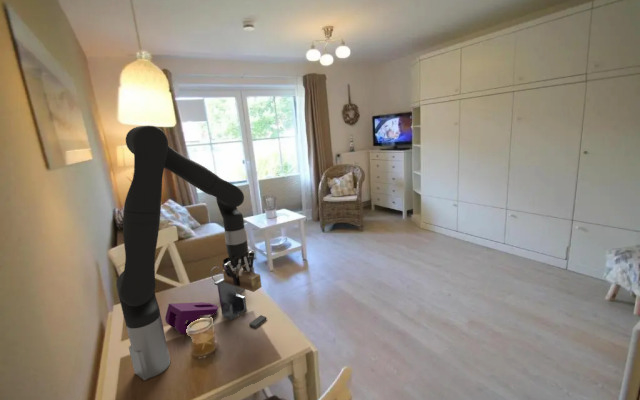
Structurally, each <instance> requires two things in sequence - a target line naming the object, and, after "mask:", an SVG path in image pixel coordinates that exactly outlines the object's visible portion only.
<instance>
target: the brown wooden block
mask: <svg viewBox="0 0 640 400" xmlns="http://www.w3.org/2000/svg"><path fill="white" fill-rule="evenodd" d="M222 273H223V274H222V275H223V278H224V282H225V283H228V284H231V285H234V282H233V278H231V277H228V276H227V274H226V272H225V270H224V269H223V270H222ZM238 277H239V281H240V286H237V287H240V288H243V289H245V290H246V291H249V292H251V293H252V292H253V293H255V292H256V291H258V290H259V289H261V288H262V280H261V274H260V273H256V272H251V271H250V270H249V271H246V270H243V268H242V269H240V271H239V276H238ZM234 286H236V285H234Z"/></svg>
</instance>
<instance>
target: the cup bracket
mask: <svg viewBox="0 0 640 400" xmlns="http://www.w3.org/2000/svg"><path fill="white" fill-rule="evenodd" d="M215 281H216V280H215ZM215 281H214V285H216V286H217V290H218V291H217V292H218V297H219V303H220V305H219V306H220V310H221V315H222V317H223V318H225V319H227V320H230V321H233V320H234V319H236V318H237V317H238V315H239V316H240V315H242V314H243V313H244V311H245V312H246V311H247V310H248V309H247V308H248V307H247V303H246V302H247V301H246V296H245V295H241V294H240V293H238V294H236V293H235V286H234V285H231V284H228V283H225V282H224V277H222V278H221V279H218V280H217V281H216V282H215Z"/></svg>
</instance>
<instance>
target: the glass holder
mask: <svg viewBox="0 0 640 400" xmlns="http://www.w3.org/2000/svg"><path fill="white" fill-rule="evenodd" d="M228 259H229V256H228V257H226V258H224V259H223V260H222V261H223V262H222V263H223V264H226V263H227V262H228ZM223 264H222V265H223ZM216 268H218V269H219V273H220V274H221V275H223V271H222V269H221V268H220V267H219V266H214V267H212V268H211V270H210V276H211V279H212V280H213V281H214V283H215V282H216V280H215V278H214V277H213V270H214V269H216ZM235 268H237V267H235ZM240 269H242V270H243V268H242V266H241V267H240ZM245 290H246V289H243V288H240V287H237V286H235V293H236V294H241V293H243V292H244V291H245ZM242 291H243V292H242Z"/></svg>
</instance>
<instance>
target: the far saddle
mask: <svg viewBox="0 0 640 400" xmlns="http://www.w3.org/2000/svg"><path fill="white" fill-rule="evenodd" d="M266 319H267V320H268V318H267V316H265V315H263V314H260V315H259V316H257V317H256V318H255V319H254V320H252V321H251V322H249V327H251V326H252V328H254V329H256V328H258V327H259V326H260V325H262V324H263V323H264V322H265V321H267V320H266ZM262 322H263V323H262ZM261 323H262V324H261Z"/></svg>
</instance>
